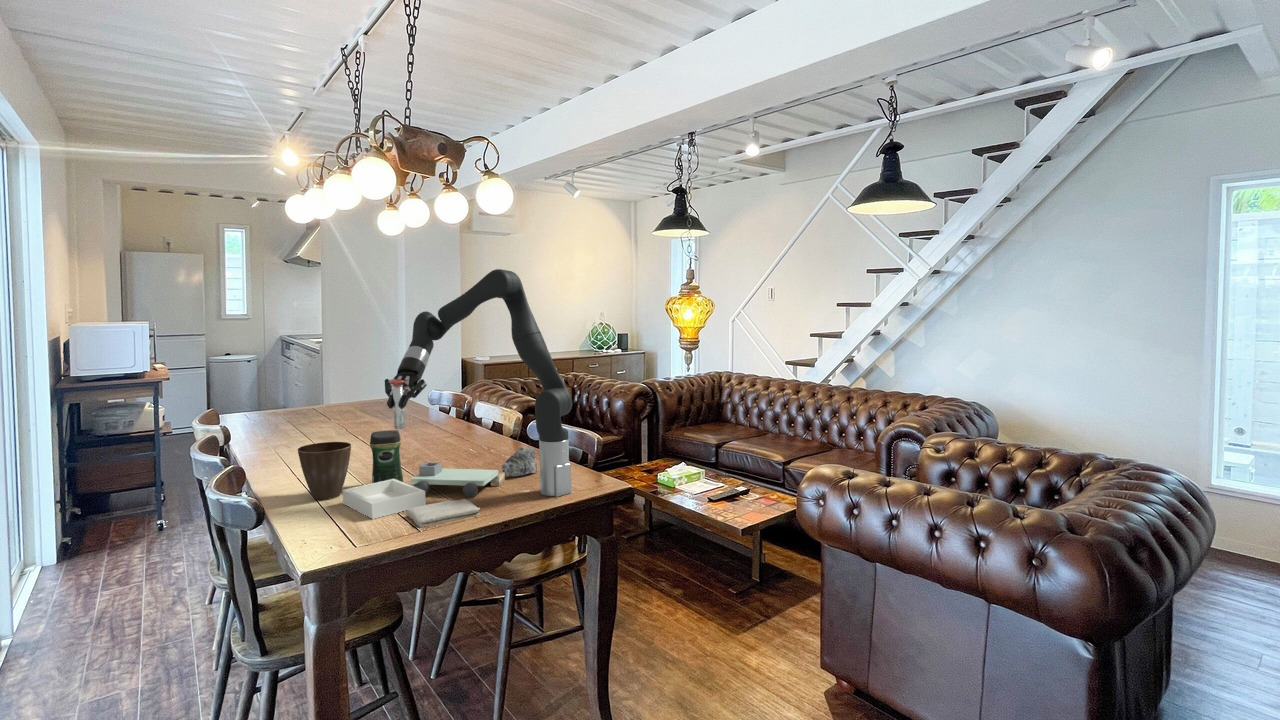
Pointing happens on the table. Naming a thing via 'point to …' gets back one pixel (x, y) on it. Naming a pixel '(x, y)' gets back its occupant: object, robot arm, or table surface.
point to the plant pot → (325, 467)
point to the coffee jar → (386, 456)
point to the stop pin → (397, 394)
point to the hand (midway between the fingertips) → (395, 407)
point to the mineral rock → (520, 463)
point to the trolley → (452, 477)
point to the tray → (383, 498)
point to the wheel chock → (498, 479)
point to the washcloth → (442, 512)
